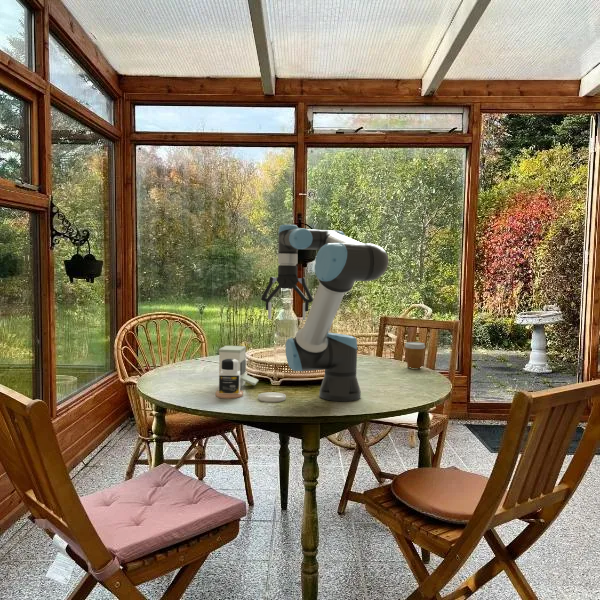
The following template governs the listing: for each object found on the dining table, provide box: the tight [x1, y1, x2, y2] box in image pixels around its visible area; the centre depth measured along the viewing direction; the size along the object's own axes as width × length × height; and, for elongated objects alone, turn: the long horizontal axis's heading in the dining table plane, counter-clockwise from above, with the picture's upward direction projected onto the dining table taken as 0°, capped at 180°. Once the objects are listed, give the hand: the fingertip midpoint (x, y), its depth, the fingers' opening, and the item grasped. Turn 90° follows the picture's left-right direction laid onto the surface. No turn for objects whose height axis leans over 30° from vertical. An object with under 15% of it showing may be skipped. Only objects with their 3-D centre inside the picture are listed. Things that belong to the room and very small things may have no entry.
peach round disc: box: [215, 389, 244, 400], centre depth 203 cm, size 10×10×1 cm
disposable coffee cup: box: [404, 341, 426, 368], centre depth 264 cm, size 10×10×12 cm
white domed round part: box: [257, 391, 287, 403], centre depth 199 cm, size 10×10×1 cm
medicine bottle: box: [218, 359, 241, 394], centre depth 202 cm, size 7×7×12 cm
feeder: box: [218, 345, 259, 389], centre depth 218 cm, size 14×10×15 cm
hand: (286, 319), depth 217 cm, fingers open, 13 cm apart
